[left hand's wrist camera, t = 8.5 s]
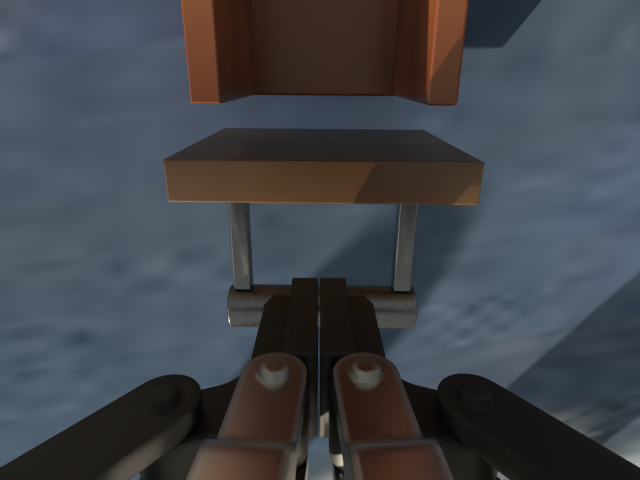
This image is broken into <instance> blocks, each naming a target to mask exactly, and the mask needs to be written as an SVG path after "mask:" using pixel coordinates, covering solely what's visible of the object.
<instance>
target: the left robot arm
mask: <svg viewBox="0 0 640 480" xmlns="http://www.w3.org/2000/svg"><path fill="white" fill-rule="evenodd" d="M317 395H318V278H293V279H292V287H291V294H290V295H273V296H272V297H271V298H270V299H269V300H268V301H267V302H266V303H265V304H264V308H263V312H262V318H261V321H260V327H259V329H258V333H257V337H256V342H255V346H254V350H253V354H252V359H251V360H250V361H249V362H248V363H247V364H246V365H245V366H244V368H243V370H242V372H241V374H240V376H239V377H238V378H236V379H234V380H233V381H231V382H228V383H226V384H223V385H219V386H215V387H211V388H207V389H202V390H201V389H200V386H199V384H198V383H197V382H196V381H195V380H194V379H192V378H191V377H188V376H185V375H165V376H161V377H157V378H155V379H152V380H150V381H148V382H146V383H144V384H142V385H141V386H139V387H137V388H135V389H134V390H132V391H130V392H129V393H127V394H125V395H123V396H122V397H120V398H118V399H117V400H115V401H113V402H112V403H110V404H108V405H106V406H105V407H103V408H101V409H100V410H98V411H96V412H95V413H93V414H91V415H89V416H88V417H86V418H84V419H83V420H81V421H79V422H77V423H76V424H74V425H72V426H71V427H69V428H67V429H66V430H64V431H62V432H60V433H59V434H57V435H55V436H54V437H52V438H50V439H48V440H47V441H45V442H43V443H42V444H40V445H38V446H37V447H35V448H33V449H31V450H30V451H28V452H26V453H25V454H23V455H21V456H19V457H18V458H16V459H14V460H13V461H11V462H9V463H8V464H6V465H4V466H2V467H1V468H0V480H130V479H132V478H133V477H134V476H136V475H137V474H138V473H139V474H140V478H141V479H139V480H307V475H308V437H317ZM320 437H329V453H330V457H331V460H332V475H333V480H501V479H499V478H498V477H497V472H498V471H499V472H500V473H502V474H503V475H504V476H506V477H507V478H508V479H510V480H640V468H639V467H638V466H636V465H634V464H632V463H631V462H629V461H627V460H626V459H624V458H622V457H621V456H619V455H617V454H615V453H614V452H612V451H610V450H609V449H607V448H605V447H603V446H602V445H600V444H598V443H597V442H595V441H593V440H592V439H590V438H588V437H586V436H585V435H583V434H581V433H580V432H578V431H576V430H574V429H573V428H571V427H569V426H568V425H566V424H564V423H563V422H561V421H559V420H557V419H556V418H554V417H552V416H551V415H549V414H547V413H545V412H544V411H542V410H540V409H539V408H537V407H535V406H534V405H532V404H530V403H528V402H527V401H525V400H523V399H522V398H520V397H518V396H516V395H515V394H513V393H511V392H510V391H508V390H506V389H505V388H503V387H501V386H499V385H498V384H496V383H494V382H492V381H491V380H489V379H486V378H484V377H481V376H477V375H473V374H454V375H451V376H448V377H446V378H444V379H443V380H442V381H441V382H440V384H439V386H438V390H434V389H430V388H425V387H421V386H417V385H414V384H411V383H408V382H406V381H404V380H402V379H401V377H400V374H399V372H398V370H397V368H396V366H395V365H394V364H393V363H392V362H391V361H390V360H388V359H387V358H385V354H384V349H383V345H382V340H381V336H380V331H379V327H378V323H377V318H376V314H375V309H374V305H373V304H372V303H371V302H370V301H369V300H368V299H367V298H366V297H365V296H364V295H347V289H346V281H345V278H320Z"/></svg>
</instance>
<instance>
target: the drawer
mask: <svg viewBox="0 0 640 480" xmlns="http://www.w3.org/2000/svg"><path fill="white" fill-rule="evenodd" d="M181 4H182V14H183V25H184V35H185V46H186V56H187V67H188V77H189V88H190V98H191V103H209V104H220V103H224V102H228V101H232V100H236V99H240V98H244V97H248V96H252V95H343V96H397V97H401V98H404V99H408V100H412V101H416V102H420V103H423V104H427V105H456V103H457V100H458V91H459V83H460V74H461V65H462V57H463V48H464V39H465V31H466V22H467V13H468V5H469V0H181ZM163 163H164V171H165V179H166V187H167V195H168V201H169V202H228V209H229V223H230V237H231V251H232V265H233V279H234V284H233V285H232V286H231V287H230V290H229V294H228V302H227V315H228V321H229V324H230V325H231V326H247V327H260V321H261V318H262V312H263V308H264V304H265V303H266V302H267V301H268V300H269V299H270V298H271V297H272V296H273V295H290V294H291V287H292V285H264V284H253V268H252V250H251V231H250V212H249V203H334V204H397V211H396V225H395V239H394V252H393V266H392V279H391V285H392V286H352V285H346V289H347V295H364V296H365V297H366V298H367V299H368V300H369V301H370V302H371V303H372V304H373V305H374V309H375V314H376V318H377V323H378V327H379V328H413V327H414V326H415V322H416V315H417V303H416V295H415V291H414V289H413V287H411V276H412V265H413V254H414V243H415V233H416V222H417V211H418V204H433V205H478V202H479V195H480V188H481V181H482V174H483V167H484V162H482V161H480V160H478V159H476V158H474V157H473V156H471V155H469V154H467V153H465V152H463V151H461V150H460V149H458V148H456V147H454V146H452V145H450V144H448V143H446V142H445V141H443V140H441V139H439V138H437V137H435V136H433V135H431V134H430V133H428V132H426V131H424V130H360V129H245V128H225V129H222V130H221V131H219V132H217V133H215V134H213V135H211V136H209V137H207V138H205V139H203V140H201V141H199V142H197V143H195V144H193V145H191V146H189V147H187V148H185V149H183V150H181V151H179V152H177V153H175V154H173V155H171V156H169V157H167V158H166V159H164V160H163ZM318 327H320V285H318Z"/></svg>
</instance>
